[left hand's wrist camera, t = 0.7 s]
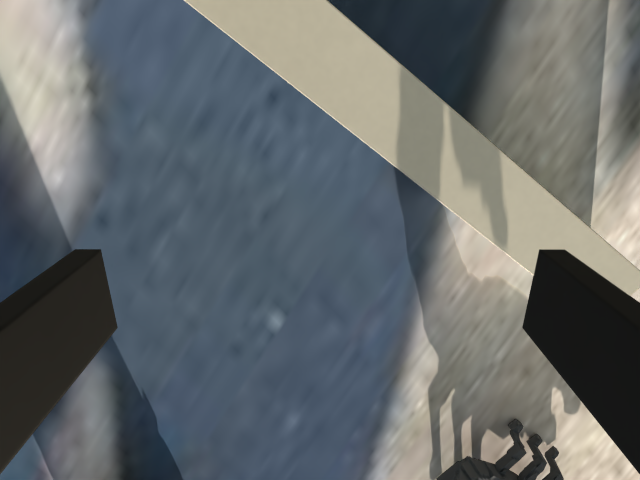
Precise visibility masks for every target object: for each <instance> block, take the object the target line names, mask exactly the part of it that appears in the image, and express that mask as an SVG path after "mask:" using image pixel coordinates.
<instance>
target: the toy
mask: <svg viewBox="0 0 640 480" xmlns="http://www.w3.org/2000/svg"><path fill="white" fill-rule="evenodd" d="M508 426H509V427H510V429H511V430H510V435H511V437H512V439H513V441H514V445H513V446H512V447H511V448H510V449H509V450H508V451H507V454H506V455H504V456H503V457H502V458H501V459H499V460H498V461H497V462H496V464H492V463H489V462H485V461H482V460H479V459H478V460H477V459H475V458H471V457H468V456H467V457H466V458H464V459H463V460H462V461H460V462H459V461H458V462H456V463H455V464H454V465H453V466H451V467H450V468H449V469H448V470H446V471H445V472H444V473H443V474H441V475H440V476H439V477H438V478H437V480H535V479H536V478H537V476H538V474H540V473H541V472H542V471H543V470H544V468H545V466H546V464H547V462H546V460H545V459H544V457H543V455H542V454H541V452H540V450H539V449H538V446H539V445H540V443H541V442H542V439H541V438H540V436H539V435H537V434H536V435H534V436H533V437H532V438H530V439H529V440H528V441H526V442H527V443H528V445H529V447H530V449H531V450H532V452H533V454H534V455H533V456H532V457H533V461H532V462H531V463H530V464H529V465H528V466H527V467H525V468H524V470H523V471H522V472H520V474H519V476H518V475H517V474H515V473H514V472H512V471H510V470H509V469H510V468H511V467H512V466H513V465H514V464H516V463H517V462H518V461H519V460H520V459H521V458H522V457H523V456H524V455H525V454H526V451H525V449H524V446H523V444H522V442H521V441H520V438H519V432H520V431H521V430H522V428H523V425H522V424H521V422H519V421H518V420H516V419H515V420H514V421H512V422H511V423H510V424H509V425H508ZM558 454H559V452H558V450H557V449H556V448H555V447H554V446H552V447H551V448H550V449H549V450H548V451H547V452H546V453H545V455H544V456H545V458H546V459H547V461H548V463H549V465H550V473H549V474H548V475H547V476H546V477H545V478H543V479H542V480H563V479H564V478H563V476H562V474H561V472H560V470H559V468H558V466H557V464H556V462H555V458H556V457H557V456H558Z"/></svg>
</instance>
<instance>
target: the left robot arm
mask: <svg viewBox="0 0 640 480" xmlns="http://www.w3.org/2000/svg"><path fill="white" fill-rule="evenodd" d="M116 329H117V323H116V318H115V314H114V309H113V304H112V300H111V295H110V290H109V286H108V281H107V276H106V272H105V267H104V262H103V258H102V253H101V249H75V250H74V251H72V252H71V253H69V254H68V255H67V256H65V257H64V258H62V259H61V260H60V261H58V262H57V263H55V264H54V265H53V266H51V267H50V268H48V269H47V270H46V271H44V272H43V273H41V274H40V275H39V276H37V277H36V278H34V279H33V280H32V281H30V282H29V283H27V284H26V285H25V286H23V287H22V288H20V289H19V290H18V291H16V292H15V293H13V294H12V295H11V296H9V297H8V298H6V299H5V300H4V301H2V302H1V303H0V474H1V473H2V471H3V470H4V469H5V468H6V466H7V465H8V464H9V463H10V461H11V460H12V459H13V458H14V456H15V455H16V454H17V453H18V451H19V450H20V449H21V448H22V446H23V445H24V444H25V443H26V441H27V440H28V439H29V438H30V436H31V435H32V434H33V433H34V431H35V430H36V429H37V428H38V426H39V425H40V424H41V423H42V421H43V420H44V419H45V418H46V416H47V415H48V414H49V413H50V411H51V410H52V409H53V408H54V406H55V405H56V404H57V403H58V401H59V400H60V399H61V398H62V396H63V395H64V394H65V393H66V391H67V390H68V389H69V388H70V386H71V385H72V384H73V383H74V381H75V380H76V379H77V378H78V376H79V375H80V374H81V373H82V371H83V370H84V369H85V368H86V366H87V365H88V364H89V363H90V361H91V360H92V359H93V358H94V356H95V355H96V354H97V353H98V351H99V350H100V349H101V348H102V346H103V345H104V344H105V343H106V341H107V340H108V339H109V338H110V336H111V335H112V334H113V333H114V331H115V330H116ZM523 329H524V330H525V331H526V333H527V334H528V335H529V336H530V338H531V339H532V340H533V341H534V343H535V344H536V345H537V346H538V348H539V349H540V350H541V351H542V353H543V354H544V355H545V356H546V358H547V359H548V360H549V361H550V363H551V364H552V365H553V366H554V368H555V369H556V370H557V371H558V373H559V374H560V375H561V376H562V378H563V379H564V380H565V381H566V383H567V384H568V385H569V386H570V388H571V389H572V390H573V391H574V393H575V394H576V395H577V396H578V398H579V399H580V400H581V401H582V403H583V404H584V405H585V406H586V408H587V409H588V410H589V411H590V413H591V414H592V415H593V416H594V418H595V419H596V420H597V421H598V423H599V424H600V425H601V426H602V428H603V429H604V430H605V431H606V433H607V434H608V435H609V436H610V438H611V439H612V440H613V441H614V443H615V444H616V445H617V446H618V448H619V449H620V450H621V451H622V453H623V454H624V455H625V456H626V458H627V459H628V460H629V461H630V463H631V464H632V465H633V466H634V468H635V469H636V470H637V471H638V473H639V474H640V303H639V302H638V301H636V300H635V299H634V298H632V297H631V296H629V295H628V294H627V293H625V292H624V291H622V290H621V289H620V288H618V287H617V286H615V285H614V284H613V283H611V282H610V281H608V280H607V279H606V278H604V277H603V276H601V275H600V274H599V273H597V272H596V271H594V270H593V269H592V268H590V267H589V266H587V265H586V264H585V263H583V262H582V261H580V260H579V259H578V258H576V257H575V256H573V255H572V254H571V253H569V252H568V251H566V250H565V249H539V253H538V258H537V262H536V267H535V272H534V276H533V281H532V286H531V290H530V295H529V300H528V304H527V309H526V314H525V318H524V323H523Z"/></svg>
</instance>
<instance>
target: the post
mask: <svg viewBox="0 0 640 480" xmlns="http://www.w3.org/2000/svg"><path fill="white" fill-rule="evenodd" d="M184 1H185V2H187V3H188V4H189V5H191V6H192V7H193V8H194V9H196V10H197V11H198V12H199V13H201V14H202V15H203V16H205V17H206V18H207V19H208V20H210V21H211V22H212V23H213V24H215V25H216V26H217V27H218V28H220V29H221V30H222V31H224V32H225V33H226V34H227V35H229V36H230V37H231V38H232V39H234V40H235V41H236V42H238V43H239V44H240V45H241V46H243V47H244V48H245V49H246V50H248V51H249V52H250V53H251V54H253V55H254V56H255V57H257V58H258V59H259V60H260V61H262V62H263V63H264V64H265V65H267V66H268V67H269V68H271V69H272V70H273V71H274V72H276V73H277V74H278V75H279V76H281V77H282V78H283V79H284V80H286V81H287V82H288V83H290V84H291V85H292V86H293V87H295V88H296V89H297V90H298V91H300V92H301V93H302V94H304V95H305V96H306V97H307V98H309V99H310V100H311V101H312V102H314V103H315V104H316V105H317V106H319V107H320V108H321V109H323V110H324V111H325V112H326V113H328V114H329V115H330V116H331V117H333V118H334V119H335V120H337V121H338V122H339V123H340V124H342V125H343V126H344V127H345V128H347V129H348V130H349V131H350V132H352V133H353V134H354V135H356V136H357V137H358V138H359V139H361V140H362V141H363V142H364V143H366V144H367V145H368V146H370V147H371V148H372V149H373V150H375V151H376V152H377V153H378V154H380V155H381V156H382V157H383V158H385V159H386V160H387V161H389V162H390V163H391V164H392V165H394V166H395V167H396V168H397V169H399V170H400V171H401V172H403V173H404V174H405V175H406V176H408V177H409V178H410V179H411V180H413V181H414V182H415V183H416V184H418V185H419V186H420V187H422V188H423V189H424V190H425V191H427V192H428V193H429V194H430V195H432V196H433V197H434V198H436V199H437V200H438V201H439V202H441V203H442V204H443V205H444V206H446V207H447V208H448V209H449V210H451V211H452V212H453V213H455V214H456V215H457V216H458V217H460V218H461V219H462V220H463V221H465V222H466V223H467V224H469V225H470V226H471V227H472V228H474V229H475V230H476V231H477V232H479V233H480V234H481V235H482V236H484V237H485V238H486V239H488V240H489V241H490V242H491V243H493V244H494V245H495V246H496V247H498V248H499V249H500V250H502V251H503V252H504V253H505V254H507V255H508V256H509V257H510V258H512V259H513V260H514V261H515V262H517V263H518V264H519V265H521V266H522V267H523V268H524V269H526V270H527V271H528V272H529V273H531V274H532V275H533V276H534V272H535V267H536V262H537V258H538V253H539V249H565V250H566V251H568V252H569V253H571V254H572V255H573V256H575V257H576V258H578V259H579V260H580V261H582V262H583V263H585V264H586V265H587V266H589V267H590V268H592V269H593V270H594V271H596V272H597V273H599V274H600V275H601V276H603V277H604V278H606V279H607V280H608V281H610V282H611V283H613V284H614V285H615V286H617V287H618V288H620V289H621V290H622V291H624V292H625V293H627V294H628V295H629V296H631V295H632V294H633V293H634V292H636V291H637V290H638V289H639V288H640V270H639V269H637V268H636V267H635V266H634V265H633V264H632V263H630V262H629V261H628V260H627V259H626V258H625V257H624V256H622V255H621V254H620V253H619V252H618V251H617V250H615V249H614V248H613V247H612V246H611V245H610V244H609V243H607V242H606V241H605V240H604V239H603V238H602V237H600V236H599V235H598V234H597V233H596V232H595V231H593V230H592V229H591V228H590V227H589V226H588V225H587V224H585V223H584V222H583V221H582V220H581V219H580V218H578V217H577V216H576V215H575V214H574V213H573V212H572V211H570V210H569V209H568V208H567V207H566V206H565V205H563V204H562V203H561V202H560V201H559V200H558V199H556V198H555V197H554V196H553V195H552V194H551V193H550V192H548V191H547V190H546V189H545V188H544V187H543V186H541V185H540V184H539V183H538V182H537V181H536V180H534V179H533V178H532V177H531V176H530V175H529V174H528V173H526V172H525V171H524V170H523V169H522V168H521V167H519V166H518V165H517V164H516V163H515V162H514V161H513V160H511V159H510V158H509V157H508V156H507V155H506V154H504V153H503V152H502V151H501V150H500V149H499V148H497V147H496V146H495V145H494V144H493V143H492V142H491V141H489V140H488V139H487V138H486V137H485V136H484V135H482V134H481V133H480V132H479V131H478V130H477V129H476V128H474V127H473V126H472V125H471V124H470V123H469V122H467V121H466V120H465V119H464V118H463V117H462V116H460V115H459V114H458V113H457V112H456V111H455V110H454V109H452V108H451V107H450V106H449V105H448V104H447V103H445V102H444V101H443V100H442V99H441V98H440V97H439V96H437V95H436V94H435V93H434V92H433V91H432V90H430V89H429V88H428V87H427V86H426V85H425V84H423V83H422V82H421V81H420V80H419V79H418V78H417V77H415V76H414V75H413V74H412V73H411V72H410V71H408V70H407V69H406V68H405V67H404V66H403V65H402V64H400V63H399V62H398V61H397V60H396V59H395V58H393V57H392V56H391V55H390V54H389V53H388V52H386V51H385V50H384V49H383V48H382V47H381V46H380V45H378V44H377V43H376V42H375V41H374V40H373V39H371V38H370V37H369V36H368V35H367V34H366V33H365V32H363V31H362V30H361V29H360V28H359V27H358V26H356V25H355V24H354V23H353V22H352V21H351V20H349V19H348V18H347V17H346V16H345V15H344V14H343V13H341V12H340V11H339V10H338V9H337V8H336V7H334V6H333V5H332V4H331V3H330V2H329V1H328V0H184Z"/></svg>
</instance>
